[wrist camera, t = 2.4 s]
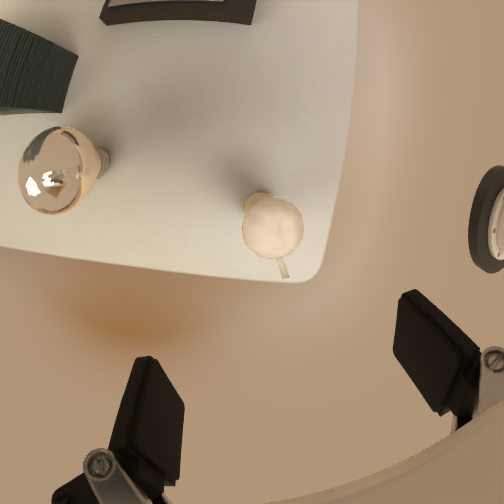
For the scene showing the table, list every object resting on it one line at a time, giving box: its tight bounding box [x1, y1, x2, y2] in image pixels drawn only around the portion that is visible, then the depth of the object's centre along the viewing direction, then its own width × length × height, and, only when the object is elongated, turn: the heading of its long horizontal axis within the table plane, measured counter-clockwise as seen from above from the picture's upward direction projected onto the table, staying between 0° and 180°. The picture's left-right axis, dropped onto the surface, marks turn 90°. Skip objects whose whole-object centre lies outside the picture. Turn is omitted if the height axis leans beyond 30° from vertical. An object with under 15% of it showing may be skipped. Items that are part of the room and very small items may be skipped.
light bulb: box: [17, 126, 109, 215], centre depth 18 cm, size 7×7×12 cm
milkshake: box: [242, 192, 304, 279], centre depth 23 cm, size 5×5×10 cm
